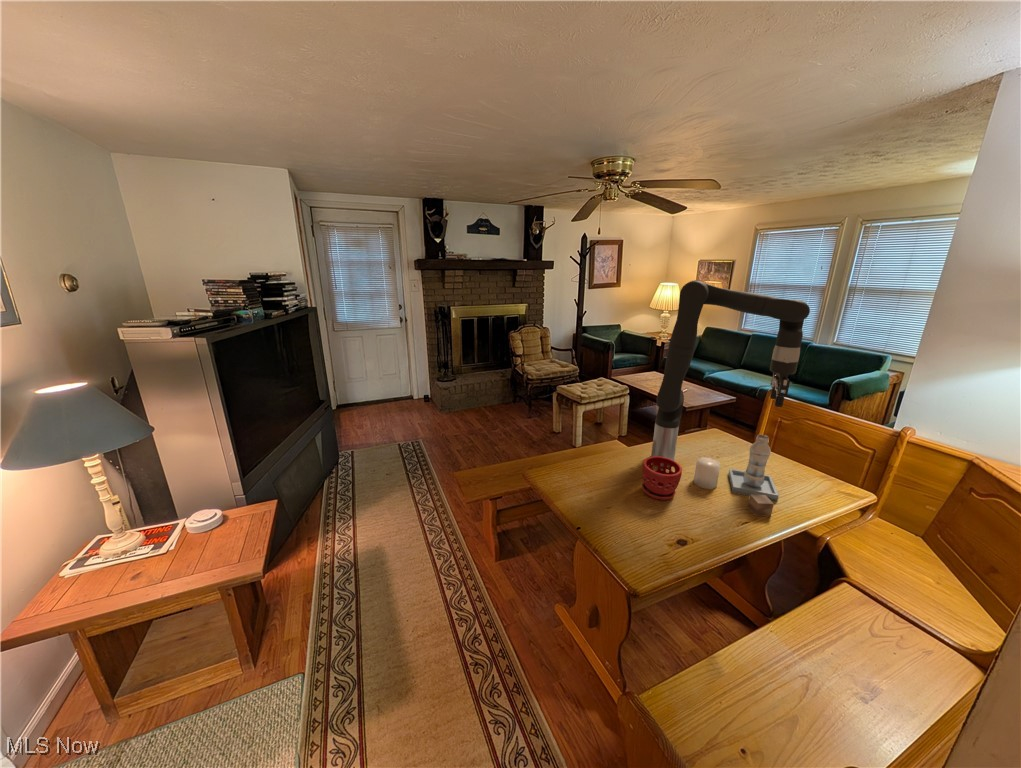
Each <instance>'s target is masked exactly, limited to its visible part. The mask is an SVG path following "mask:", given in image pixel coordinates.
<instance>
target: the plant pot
mask: <svg viewBox="0 0 1021 768" xmlns="http://www.w3.org/2000/svg"><path fill="white" fill-rule="evenodd" d="M661 463H663V464H664V466H663V465H660V464H661ZM667 465H669V466H667ZM654 467H657V469H656V470H655V469H653V468H654ZM672 467H673V468H674V471H673V470H672ZM667 470H668V471H667ZM682 474H683V468H682V467H681V465H680V464H679V463H678V462H677V461H675V460H674V461H673V460H671V459H669V458H665V457H660V456H653V457H651V456H649V457H647V458H645V459H644V461H643V463H642V475H641V476H642V481H643V482H642V485H641V488H642V491H643V493H645V494H646V495H647V496H649V497H650V498H653V499H656V500H662V501H663V500H665V501H666V500H667V501H668V500H670V499H672V498H674V497H675V495H676V489H677V487H679V484H680V481H681V479H682Z"/></svg>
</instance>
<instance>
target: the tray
mask: <svg viewBox="0 0 1021 768" xmlns="http://www.w3.org/2000/svg"><path fill="white" fill-rule="evenodd" d="M745 471H746V470H739V469H733V468H729V469H728V477H729V482H730V486H731V487H730V488H731V492H732V494H733V493H734V494H737V495H738V494H739V495H743V496H744V495H745V496H748V497H750V494H752V495H766V496H767V497H768V498H769V499H770V500H771V501H772V502H773V501H774V502H778V501H779V497H780V496H779V492H778V490H777V488H776V485H775V483H774V481H773V478H772V476H771V475H768V474H764V483H763V485H762V486H760V487H752V486H749V485H747V484H746V483H745V482H744V480H743V476H744V473H745Z"/></svg>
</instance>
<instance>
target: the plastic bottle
mask: <svg viewBox="0 0 1021 768" xmlns="http://www.w3.org/2000/svg"><path fill="white" fill-rule="evenodd" d="M769 439H770V437H769V436H768V435H765V434H757V435H756V438H755V441H754V442H753V443H752V444H751V445H750V446H749V457H748V462H747V463H748V464H747V466H746V469H745V470H744V471H745V473H744V476H743V480H744V482H745V483H746V484H747V485H749V486H752V487H760V486H762V485H763V483H764V475H765V471H766V466H767V463H768V460H769V457H770V455H771V453H772V451H771V447H770V446H769Z"/></svg>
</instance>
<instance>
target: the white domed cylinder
mask: <svg viewBox="0 0 1021 768" xmlns="http://www.w3.org/2000/svg"><path fill="white" fill-rule="evenodd" d="M720 470H721V463H720V461H718V460H716V459H714V458H711V457H705V456H704V457H703V456H701V457H698V458H697V459H696V464H695V469H694V476H693V482H694V484H695V485H696V486H697V487H699V488H702V489H706V490H712V489H713V490H714V489H716V488H717V487H718V480H719V475H720Z"/></svg>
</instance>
